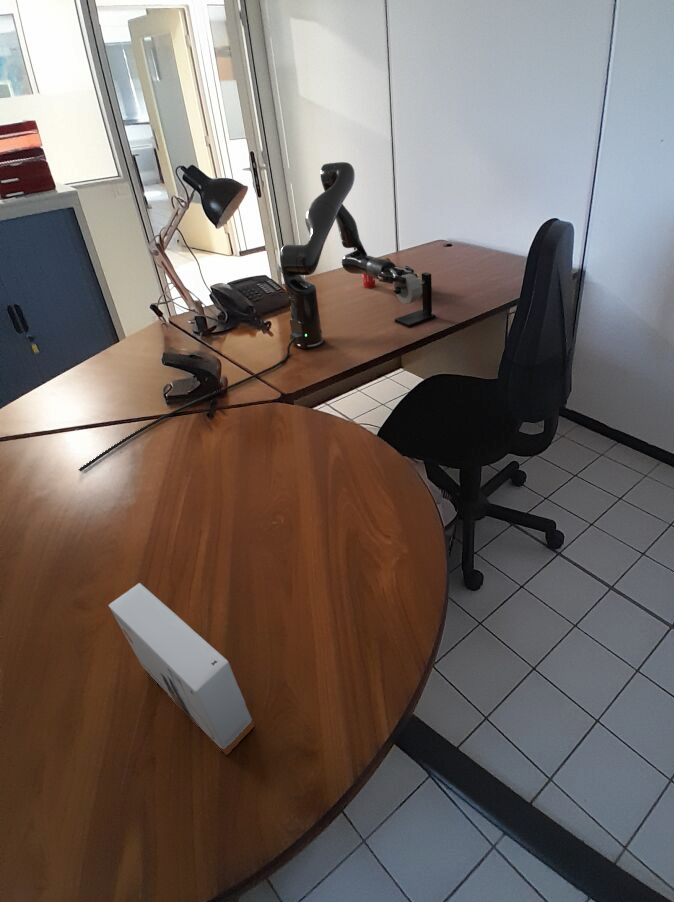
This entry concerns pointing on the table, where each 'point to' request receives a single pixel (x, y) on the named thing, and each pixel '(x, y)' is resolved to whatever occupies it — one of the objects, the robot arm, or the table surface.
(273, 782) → the table surface
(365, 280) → the beverage can
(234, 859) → the table surface
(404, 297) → the tape roll
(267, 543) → the table surface
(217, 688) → the skincare box
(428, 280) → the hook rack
